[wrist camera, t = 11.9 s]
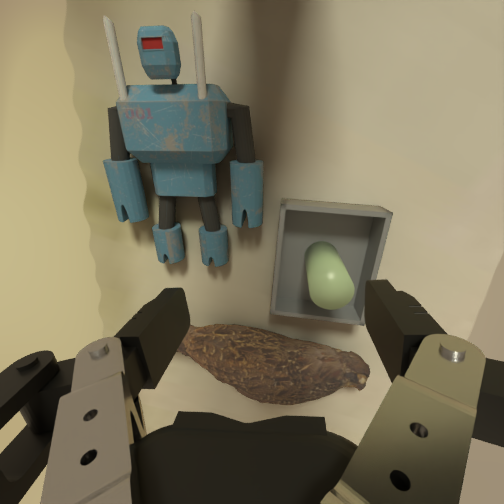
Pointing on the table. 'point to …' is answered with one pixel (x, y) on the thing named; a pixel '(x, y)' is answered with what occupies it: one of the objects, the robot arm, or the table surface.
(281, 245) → the bin
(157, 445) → the robot arm
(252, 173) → the toy
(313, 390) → the cassava root
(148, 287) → the table surface
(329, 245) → the pale green rounded knob
